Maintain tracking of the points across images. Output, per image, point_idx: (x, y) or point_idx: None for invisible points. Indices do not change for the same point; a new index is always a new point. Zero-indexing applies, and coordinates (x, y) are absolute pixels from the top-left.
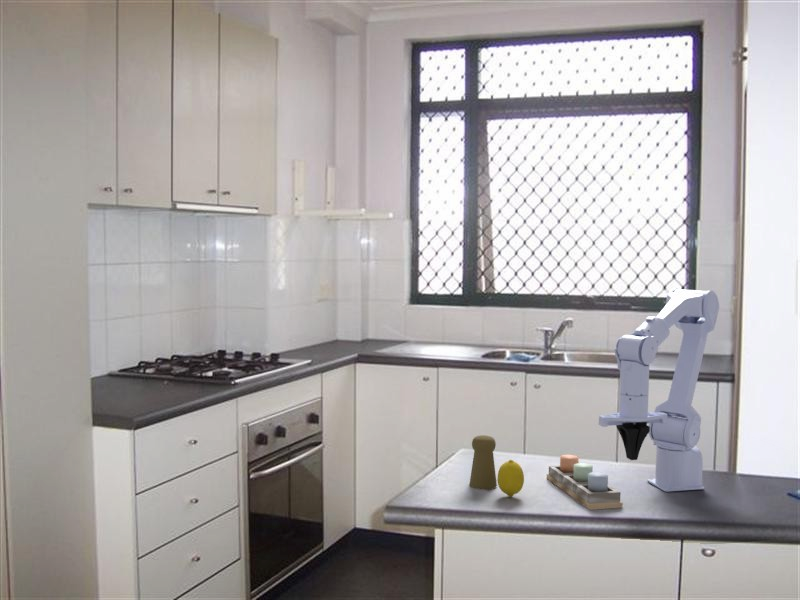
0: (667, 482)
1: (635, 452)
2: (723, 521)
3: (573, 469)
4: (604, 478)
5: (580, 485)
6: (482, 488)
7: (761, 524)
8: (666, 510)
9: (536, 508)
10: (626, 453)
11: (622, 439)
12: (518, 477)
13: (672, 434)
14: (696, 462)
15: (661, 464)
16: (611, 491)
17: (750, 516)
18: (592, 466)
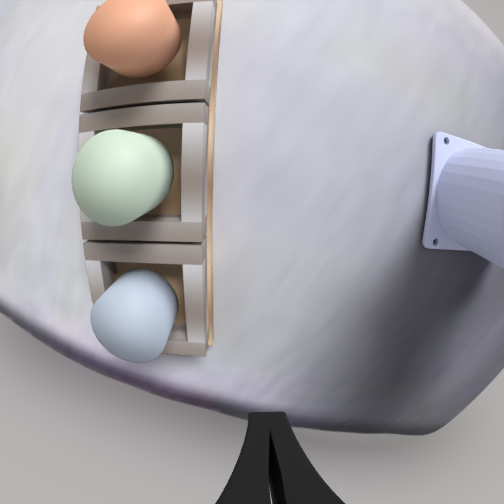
0: (451, 231)
1: (268, 472)
2: (374, 424)
3: (137, 74)
4: (143, 359)
5: (95, 260)
6: None
7: (413, 429)
8: (318, 372)
9: (13, 280)
10: (247, 431)
11: (224, 490)
12: None
13: None
14: None
15: (482, 223)
16: (177, 344)
17: (433, 402)
18: (149, 200)
